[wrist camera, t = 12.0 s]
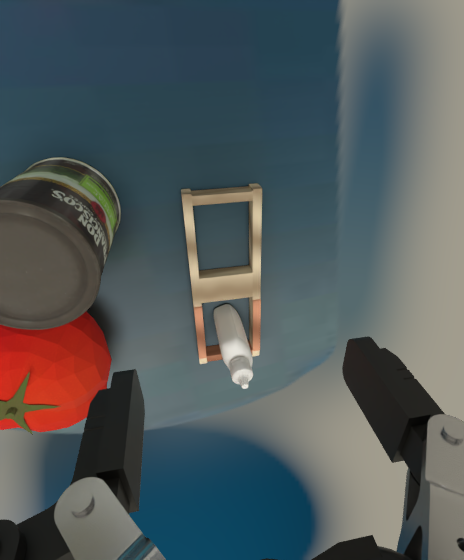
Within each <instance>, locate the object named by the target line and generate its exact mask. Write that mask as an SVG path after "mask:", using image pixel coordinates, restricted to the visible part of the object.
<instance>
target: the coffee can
mask: <svg viewBox="0 0 464 560" xmlns="http://www.w3.org/2000/svg"><path fill="white" fill-rule="evenodd" d="M120 218H121V209H120V203H119V199H118V197H117V194H116V192H115V190H114V188H113V186H112V185H111V184H110V182H109V181H108V180H107V179H106V178H105V177H104V176H103V175H102V174H101V173H100V172H98V171H97V170H96V169H94V168H93V167H91V166H89V165H87V164H85V163H83V162H81V161H78V160H75V159H70V158H49V159H45V160H42V161H39V162H37V163H35V164H33V165H32V166H30V167H29V168H28V169H27V170H26V171H24V172H23V173H21V174H20V175H18V176H17V177H15V178H14V179H12V180H10V181H9V182H7V183H6V184H4V185H3V186H1V187H0V325H4V326H8V327H12V328H17V329H27V330H43V329H50V328H55V327H59V326H62V325H65V324H67V323H69V322H71V321H73V320H75V319H77V318H78V317H80V316H81V315H82V314H83V313H85V312H86V311H87V310H88V309H89V308H90V306H91V305H92V304H93V302H94V300H95V298H96V296H97V293H98V291H99V287H100V281H101V275H102V272H103V269H104V265H105V262H106V260H107V256H108V253H109V250H110V247H111V244H112V241H113V238H114V235H115V232H116V231H117V228H118V226H119V223H120Z"/></svg>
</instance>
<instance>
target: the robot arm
mask: <svg viewBox="0 0 464 560" xmlns="http://www.w3.org/2000/svg"><path fill="white" fill-rule="evenodd" d="M343 376H344V380H345V382H346V384H347V386H348V388H349V389H350V391H351V393H352V394H353V396H354V398H355V400H356V401H357V403H358V405H359V407H360V408H361V410H362V412H363V413H364V415H365V417H366V419H367V420H368V422H369V424H370V425H371V427H372V429H373V431H374V432H375V434H376V436H377V437H378V439H379V441H380V443H381V444H382V446H383V448H384V450H385V451H386V453H387V455H388V456H389V458H390V460H391V461H392V462H393V463H394V462H399V461H405V463H406V464H407V466H408V470H407V475H406V487H405V498H404V509H403V520H402V528H401V533H400V537H399V541H398V545H397V551H394V550H391V549H388V548H384V547H379V546H377V544H376V542H375V540H374V538H373V535H371V536H366V537H361V538H357V539H353V540H348V541H343V542H339V543H337V544H336V545H334V546H332V547H331V548H329V549H328V550H326V551H325V552H323V553H321V554H320V555H318V556H317V557H315V558H313V559H312V560H464V422H463V421H462V420H460V419H458V418H456V417H453V416H450V415H446V414H444V412H443V411H442V410H441V409H440V408H439V406H438V405H437V404H436V403H435V401H434V400H433V399H432V398H431V397H430V395H429V394H428V393H427V392H426V390H425V389H424V388H423V387H422V386H421V384H420V383H419V382H418V381H417V380H416V379H414V376H413V375H412V373H411V372H410V371H409V370H407V367H406V366H405V365H404V364H403V362H402V361H401V360H400V359H399V358H398V357H397V356H396V355H394V354H393V353H391V352H390V351H389V350H387V349H386V348H382V349H380V348H379V347H378V346H377V344H376V343H375V342H374V341H373V339H372V338H370V337H362V338H355V339H349V340H348V342H347V347H346V353H345V357H344V362H343ZM144 416H145V409H144V399H143V395H142V391H141V387H140V383H139V379H138V375H137V371H136V370H135V369H134V370H127V371H120V372H114V373H113V376H112V382H111V388H109V389H102V390H99V391H98V392H97V394H96V395H95V397H94V398H93V400H92V401H91V403H90V406H89V410H88V414H87V420H86V423H85V428H84V432H83V437H82V441H81V446H80V450H79V454H78V458H77V463H76V467H75V471H74V476H73V479H72V482H71V484H70V486H69V487H68V488H67V489H66V490H65V491H64V493H63V494H62V495H61V497H60V499H59V500H58V501H57V502H56V503H55V504H54V505H52V506H51V507H50V508H48V509H46V510H45V511H43V512H41V513H39V514H37V515H35V516H33V517H31V518H29V519H27V520H25V521H23V522H21V523H19V524H17V525H16V524H15V523H14V522H12V521H10V520H0V560H165V558H164V557H163V556H162V554H161V553H160V551H159V550H158V549H157V547H156V546H155V545H154V544H153V542H152V541H151V540H150V539H149V538H146V537H145V536H144V535H143V534H142V532H141V531H140V530H139V528H138V527H137V526H136V524H135V523H134V521H133V520H132V519H131V517H130V516H129V513H130V512H136V511H139V497H140V481H141V465H142V464H141V463H142V447H143V432H144ZM262 560H275V559H262Z"/></svg>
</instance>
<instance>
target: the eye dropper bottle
mask: <svg viewBox="0 0 464 560" xmlns="http://www.w3.org/2000/svg"><path fill="white" fill-rule="evenodd" d="M214 321H215V326H216V331H217V336H218V340H219V345H220V350H221V354H222V358H223V360H224V362H225V364H226V365H227V367H228V368H229V369H230V372H231V377H232V380H233V382H234V383H236V384H241V386H242V388H243V389H246V388H248V382H249V381H250V380H251V379H252V377H253V372H252V369H251V367H252V362H253V359H252V353H251V350H250V347H249V344H248V340H247V337H246V334H245V331H244V328H243V325H242V321H241V318H240V316H239V314H238V312H237V311H236V310H235V309H234V308H233V307H232V306H231V305H229V304H225V305H222V306H220V307H217V308H216V309H214Z"/></svg>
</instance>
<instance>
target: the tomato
mask: <svg viewBox="0 0 464 560" xmlns="http://www.w3.org/2000/svg"><path fill="white" fill-rule="evenodd" d="M111 360H112V359H111V356H110V353H109V349H108V346H107V343H106V340H105V336H104V333H103V331H102V330H101V328H100V327H99V326H98V324H97V323H96V321H95V320H94V318H93V317H92V316H91V315H90V314H88V313H87V312H85V313H83V314H82V315H81V316H80V317H78V318H77V319H75V320H73V321H71V322H69V323H67V324H65V325H62V326H59V327H55V328H50V329H43V330H27V329H17V328H12V327H8V326H4V325H0V429H1V430H4V429H10V428H17V427H19V428H24V429H25V430H27V431H28V432H30V433H31V434H32V431H31V430H33V431H37V432H45V431H52V430H57V429H62V428H67V427H70V426H72V425H74V424H76V423H78V422H79V421H81V420H83V419H84V418H86V417H87V414H88V410H89V406H90V403H91V401H92V400H93V398H94V397H95V395H96V394H97V392H98V391H99V390H102V389H107V381H108V376H109V371H110V365H111Z"/></svg>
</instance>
